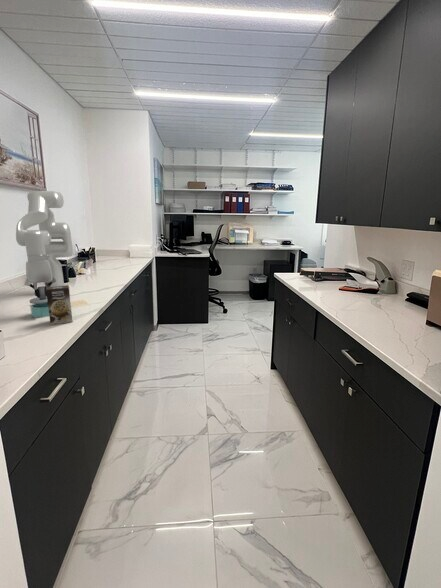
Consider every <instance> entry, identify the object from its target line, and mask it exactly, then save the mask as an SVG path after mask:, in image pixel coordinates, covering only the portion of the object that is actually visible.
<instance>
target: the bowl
mask: <svg viewBox="0 0 441 588" xmlns="http://www.w3.org/2000/svg"><path fill="white" fill-rule="evenodd" d="M29 307H30V313H31V317H32V318H34V319H36V318H46V317H49V309H48V303H42V304H29Z"/></svg>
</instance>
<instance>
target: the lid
mask: <svg viewBox="0 0 441 588" xmlns="http://www.w3.org/2000/svg"><path fill="white" fill-rule="evenodd" d="M37 288H38V290H39V296H40V297H39V298H38V297H37V296H36V297H34V298H33V297H32V298H31V299H29V304H31V305H33V304H42V303H48V301H47V296H46V291H45V285H41V286H40V285H39V286H37Z"/></svg>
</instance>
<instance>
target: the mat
mask: <svg viewBox="0 0 441 588" xmlns="http://www.w3.org/2000/svg"><path fill="white" fill-rule="evenodd" d="M70 302H71V308H74V307H81V306H86V305H89V303H88V302H87V301H85V300H84V299H79V300H73V301H70Z"/></svg>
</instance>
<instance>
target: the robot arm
mask: <svg viewBox="0 0 441 588" xmlns="http://www.w3.org/2000/svg"><path fill="white" fill-rule="evenodd" d="M26 197H27V198H26V199H27V201H28V206H27V207H28V208H27V209H28V210H27V213H26V214H25V215H23V216H22V217H21V218H20V219H19V220H18V222H17V224H16V228H15V229H16V230H15V240H16V243H17V245H19V246H21V247H25V250H26V257H27V261H26V262H25V272H26V273H25V274H26V277H25V280H24V286H28V287H30V288H32V289H33V290H34V295H35V297H36V298H37V297H38V298H39V297H40V296H39V290H38V284H41V283H44V286H45V291H46V287H54V286H65V282H64V273H63V268H62V267H63V266H62V263H61V262H60V261H59V260H58V259H57V258H68V257H69V258H70V257H72V256H73V254H74V248H73V240H72V233H71V228H70V225H69V224H68V223H66V222H56V219H55V214H54V212H53V211H52V210H51V209H62V208H63V206H64V204H65V203H64V202H65V201H64V196H63V195H62V193H61V191H52V190H51V191H50V190H49V191H48V190H34V191H30V192H28V193H27V196H26ZM37 225H38V229H35V230H34V229H29V228H32V227H35V226H37ZM52 240H58V241H52ZM46 296H47V293H46Z"/></svg>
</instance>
